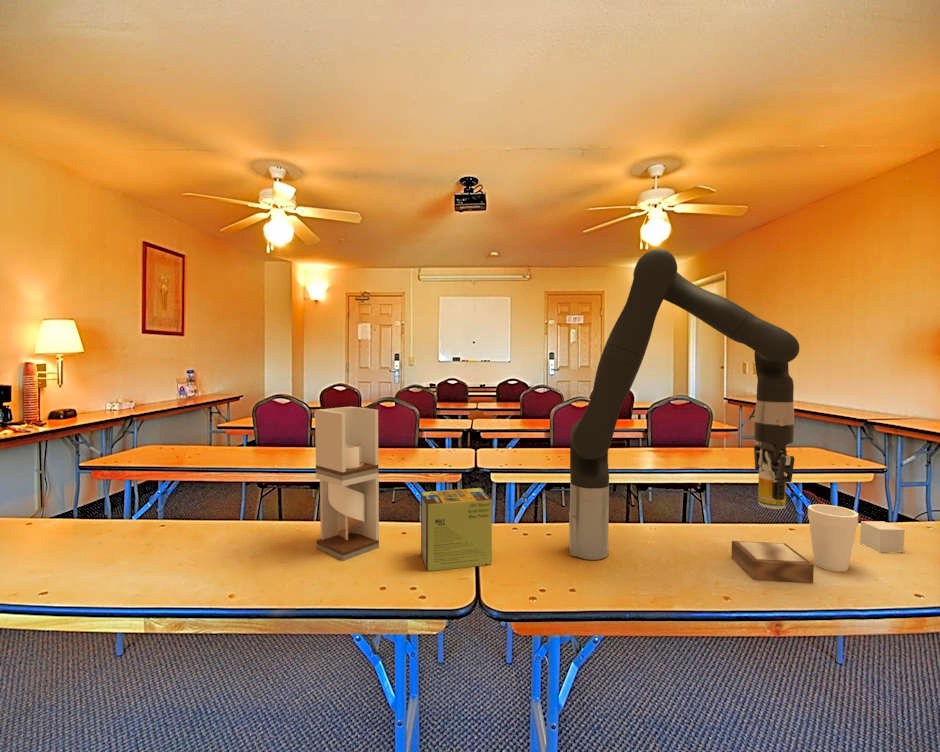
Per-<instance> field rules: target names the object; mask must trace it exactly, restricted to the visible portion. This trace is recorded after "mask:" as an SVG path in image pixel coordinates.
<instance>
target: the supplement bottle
mask: <svg viewBox="0 0 940 752" xmlns="http://www.w3.org/2000/svg"><path fill="white" fill-rule="evenodd" d="M774 468H778V467H774ZM762 469H763V470H764V471H762V472H760V473H758V488H757V490H758V491H757V493H758V494H757V503H758V505H759V506H761V507H763V508H767V509H773V510H782V509H785V507H786V503H787V502H786V499H787V483H785V493H784V499H783V500H775V499H773V498H772V484H773V479H772V473H771V472H770V471H769V468H768V464H767V463H765V462H764V463H762ZM776 473H778V472H776Z"/></svg>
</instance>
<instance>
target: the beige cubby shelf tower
mask: <svg viewBox="0 0 940 752" xmlns="http://www.w3.org/2000/svg"><path fill="white" fill-rule="evenodd" d="M314 423H315V425H314V427H315V431H314V432H315V433H314V434H315V439H314V440H315V444H314V445H315V479H316V480H319V494H320V497H319V502H320V503H319V504H320V505H319V506H320V508H319V509H320V514H319V515H320V516H319V517H320V538H319V539H317V540H316V549H318V550H320V551H322V552H324V553H326V554H328V555H330V556H332V557H335V558H336V559H339V560H341V561H343V562H344V561H347V560H349V559H352V558H354V557H357V556H360V555H363V554H365V553H368V552H371V551H373V550H376V549H380V527H379V526H380V524H379V523H380V515H379V514H380V508H379V506H380V505H379V503H380V502H379V500H380V499H379V498H380V497H379V495H380V494H379V490H380V489H379V486H380V485H379V483H380V482H379V477H380V476H379V473H380V472H379V409H373V408H367V407H357V406H343V407H342V406H341V407H334V408H333V407H331V408H324V409H323V408H320V409H315V410H314Z"/></svg>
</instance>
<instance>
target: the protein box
mask: <svg viewBox="0 0 940 752" xmlns="http://www.w3.org/2000/svg"><path fill="white" fill-rule="evenodd" d="M492 503H493V499H492V498H491V497H490V496H489V495H488V494H487V493H486V492H485V491H484V490H483V489H482V488H481V487H475V488H461V489H445V490H436V491H433V490H432V491H423V492H421V493H420V523H421V524H420V535H421V537H420V538H421V539H420V547H421V548H420V553H421V557H422V560H423V563H424V565H425V568H426V571H427V572H433V571H441V570H442V571H444V570H453V569H461V568H462V569H463V568H471V567H472V568H473V567H479V566H480V567H481V566H482V565H483V566H486V565H485V564H491V563H492V564H493V561H492V559H493V557H492V555H493V547H492V546H493V543H492V542H493V536H492V534H493V533H492V532H493V529H492V528H493V527H492V526H493V525H492V522H493V516H492V515H493V513H492V512H493V504H492ZM492 564H491V565H492Z"/></svg>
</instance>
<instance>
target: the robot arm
mask: <svg viewBox="0 0 940 752" xmlns="http://www.w3.org/2000/svg"><path fill="white" fill-rule="evenodd" d="M663 301H666V302H668V303H671V304H673V305H675V306H677V307H678V308H680V309H682V310H684V311H686V312H687V313H689V314H691V315H692V316H694V317H695V318H697V319H699V320H700V321H702V322H703V323H705V325H708V326H709V327H711V328H712V329H714V330H715V331H718V332H719V333H721V334H722V335H724V336H725V337H726V338H729V340H732V341H734V342H736V343H739V344H743V345H745V346H747V347H748V348H750V349H751V350H752V351H754V355H753V356H754V364H755V372H756V378H757V383H756V402H755V408H754V430H753V431H754V434H753V436H754V437H753V439H754V440H755V441H756V442H759V443H760V444H755V445H754V446H753V453H754V454H753V455H754V469H755V471H758V474H759V473H760V472H762V471H764V470H763V469H762V463H764V462H765V463H767V464H768V468H769V471H770V472H771V473H772V479H773V484H772V498H773V499H775V500H783V499H784V493H785V483H786V484H787V483H792V480H793V471H794V465H795V456H793V455H788V454H787V453H788V452H787V447H786V446H787V445H791V444H793V442H794V437H795V436H794V432H795V431H794V430H795V408H794V407H795V406H794V394H795V393H794V392H795V391H794V390H795V389H794V387H795V386H794V380H793V378H792V377H791V376H790V372H789V363H791V362H792V361H793V360H794V359H796V358H797V356H798V355H799V353H800V343H799V341H798V339H797V338H796V336H794V335H793V334H792V333H790V332H788V331H787V330H785V329H784V328H782V327H779V326H778V325H775V324H773V323H771V322H769V321H767V320H764V319H761V318H759V317H758V316H756V315H755V314H753V313H752V312H751V311H749V310H747V309H746V308H745V307H744V308H743V306H740V305H739V304H737V303H736V302H734V301H732V300H730V299H728V298H726V297H723V296H721V295H720V294H716V293H714V292H712V291H709V290H706V289H705V288H702V287H700V286H698V285H696V284H694V283H692V282H691V281H690V280H688V279H687V278H685V277H683V276H682V275H681V274H680V273H679V272H678V262H677V261H676V258H675V256H674V255H673V254H672V253H671V251H668V250H666V249H664V248H655V249H651V250H649V251H647V252H646V253H644V254H642V255H641V256H640V257H639V259H638V260H637V262H636V264H635V266H634V270H633V279H632V282H631V286H630V291H629V293H628V296H627V299H626V302H625V305H624V307H623V308H622V310H621V312H620V314H619V316H618V318H617V320H616V322H615V323H614V325H613V327H612V329H611V331H610V334H609V335H608V337H607V340H606V342H605V345H604V348H603V351H602V353H601V355H600V357H599V358H600V359H599V361H598V365H597V369H596V373H595V377H594V381H593V382H594V383H593V387H592V392H591V396H590V398H589V399H590V400H589V402H588V405H587V406H586V408H585V409H584V410H585V411H584V413H583V414H582V417H581V418H580V419H578V420H577V421H576V422H575V423H574V424H573V426H572V427H571V428H570V429H571V431H570V434H569V435H570V437H569V439H570V441H569V442H570V443H569V444H570V445H569V446H570V447H569V448H570V449H569V470H570V471H569V474H570V475H569V477H570V482H569V483H570V486H569V487H570V488H569V489H570V491H569V493H570V494H569V495H570V497H569V498H570V499H569V501H570V502H569V506H570V507H569V511H568V512H569V513H568V515H569V516H568V517H569V518H568V519H569V520H568V521H569V522H568V548H569V549H568V550H569V555H570V557H576V558H580V559H582V558H583V560H590V561H591V560H592V561H595V560H596V561H597V560H598V561H599V560H603V559H605V558H607V557H608V555H609V523H610V522H609V514H610V513H609V510H610V509H609V507H610V505H609V504H610V503H609V502H610V471H609V450H610V447H611V445H612V440H613V436H614V432H615V429H616V426H617V422H618V418H619V415H620V412H621V410H622V407H623V405H624V402H625V400H626V398H627V396H628V395H629V393H630V390H631V388H632V386H633V384H634V381H635V379H636V376H637V374H638V373H639V370H640V368H641V365H642V363H643V360H644V357H645V355H646V351H647V350H648V349H647V348H648V345H649V342H650V339H651V335H652V334H653V333H652V332H653V329H654V325H655V321H656V318H657V315H658V312H659V310H660V308H661V305H662V303H663ZM774 467H778V468H774ZM776 472H778V473H776Z"/></svg>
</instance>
